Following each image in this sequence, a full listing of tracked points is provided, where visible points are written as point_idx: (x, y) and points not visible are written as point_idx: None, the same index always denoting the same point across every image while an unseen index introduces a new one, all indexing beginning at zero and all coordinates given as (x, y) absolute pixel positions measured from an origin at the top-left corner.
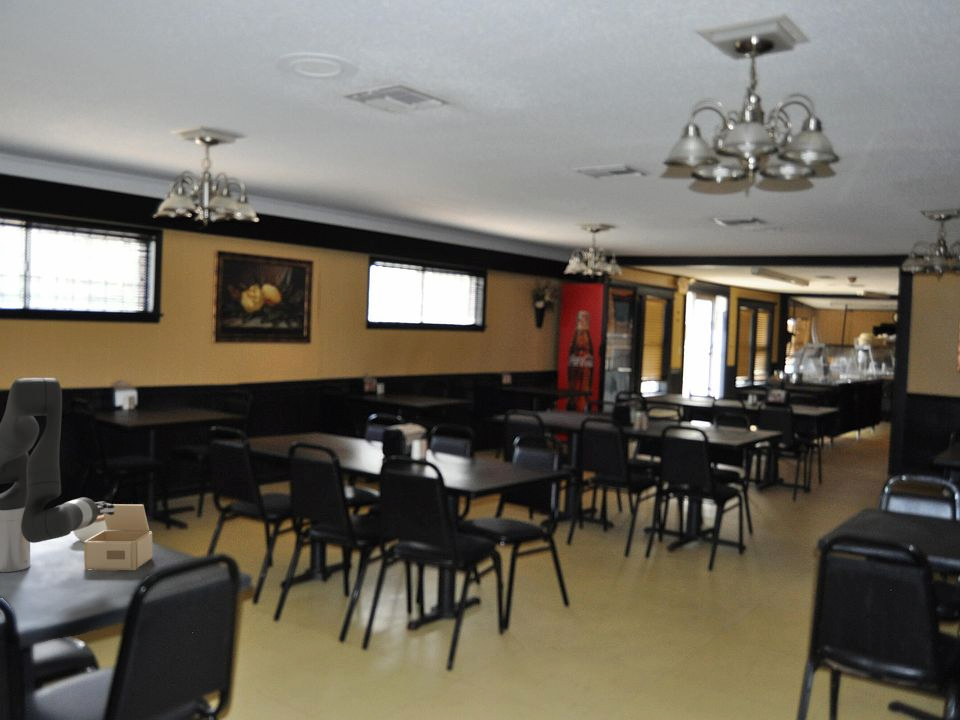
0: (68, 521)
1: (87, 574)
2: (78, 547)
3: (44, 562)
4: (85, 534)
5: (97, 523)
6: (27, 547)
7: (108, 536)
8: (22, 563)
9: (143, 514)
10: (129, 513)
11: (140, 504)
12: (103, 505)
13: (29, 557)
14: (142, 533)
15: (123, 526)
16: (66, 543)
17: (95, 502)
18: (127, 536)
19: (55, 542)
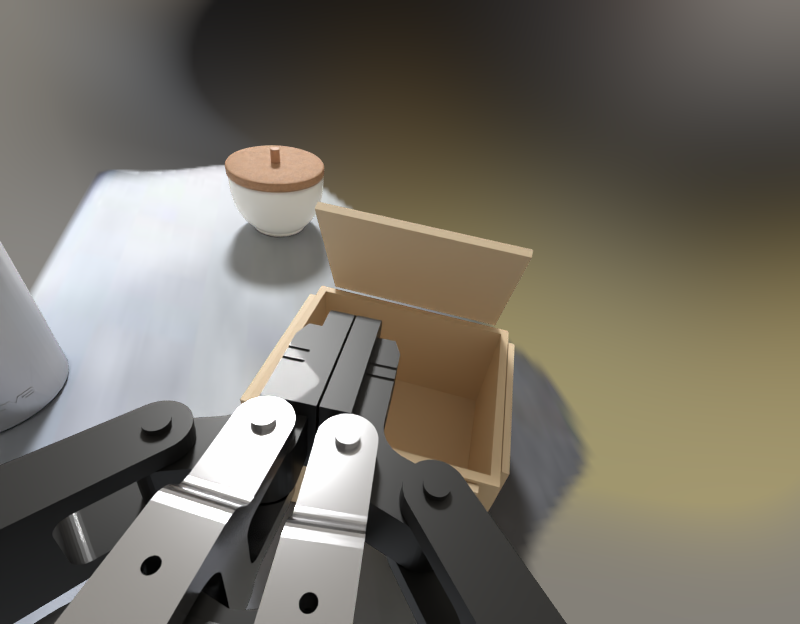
0: None
1: (264, 558)
2: (247, 260)
3: (125, 356)
4: (264, 221)
5: (295, 196)
6: (8, 350)
7: (339, 310)
8: (4, 409)
9: (509, 285)
10: (444, 266)
11: (517, 246)
12: (404, 522)
13: (43, 370)
14: (471, 333)
15: (400, 293)
16: (219, 230)
17: (290, 570)
18: (410, 328)
19: (193, 219)
